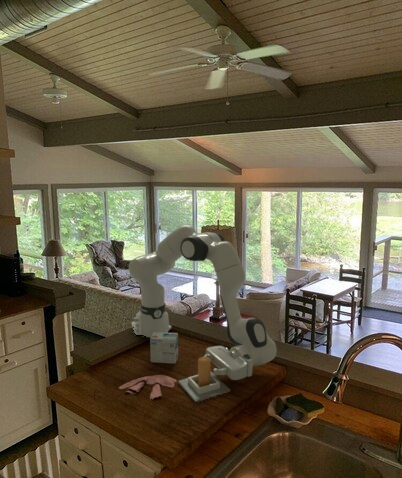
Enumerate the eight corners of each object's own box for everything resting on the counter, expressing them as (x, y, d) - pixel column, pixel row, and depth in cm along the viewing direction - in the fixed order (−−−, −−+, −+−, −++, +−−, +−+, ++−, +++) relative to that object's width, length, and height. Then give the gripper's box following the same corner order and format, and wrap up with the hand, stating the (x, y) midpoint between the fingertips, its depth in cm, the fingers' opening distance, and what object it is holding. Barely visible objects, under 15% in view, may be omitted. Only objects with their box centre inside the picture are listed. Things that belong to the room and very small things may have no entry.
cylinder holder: (178, 383, 142) (178, 375, 141) (211, 374, 148) (211, 366, 148) (195, 403, 130) (195, 395, 129) (230, 392, 136) (230, 384, 136)
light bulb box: (178, 356, 162) (178, 332, 160) (175, 364, 156) (175, 339, 154) (153, 354, 163) (153, 331, 161) (150, 362, 157) (149, 338, 155)
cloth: (183, 379, 146) (183, 373, 145) (161, 414, 125) (161, 407, 125) (134, 371, 151) (134, 365, 151) (105, 402, 131) (105, 396, 130)
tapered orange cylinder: (195, 383, 140) (196, 358, 138) (206, 380, 142) (207, 355, 140) (201, 390, 136) (201, 364, 134) (212, 386, 138) (213, 361, 136)
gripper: (224, 339, 153) (193, 346, 146) (254, 361, 135) (221, 371, 129) (224, 354, 154) (193, 361, 148) (254, 378, 136) (221, 388, 130)
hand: (206, 366), depth 138 cm, fingers open, 8 cm apart
